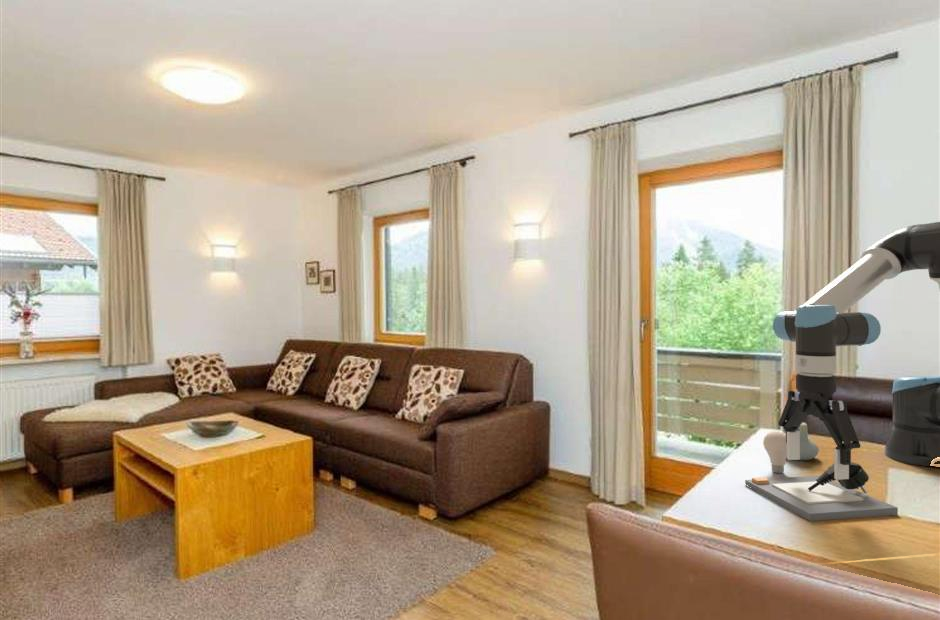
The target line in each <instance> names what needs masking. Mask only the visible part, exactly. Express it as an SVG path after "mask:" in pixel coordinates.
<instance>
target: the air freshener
mask: <svg viewBox="0 0 940 620" xmlns="http://www.w3.org/2000/svg"><path fill="white" fill-rule="evenodd" d="M808 428H809V427H808V424H807V422H804V421H803V422H802V424H801V425H800V426H799V427H798V429H797V430H795V431H798V432H800V459H798V460H797V461H809V460H812V459H814V458H816V457H817V456H818V454H819V450H820V449H819V446H818V444H816V443H815V442H814V441H813V440H812V439H810V438H808V437H809V436H808V435H809V433H808V432H809V430H808ZM782 432H783V433H785V434H786V431H785V430H784V428H783V427H782Z"/></svg>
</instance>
